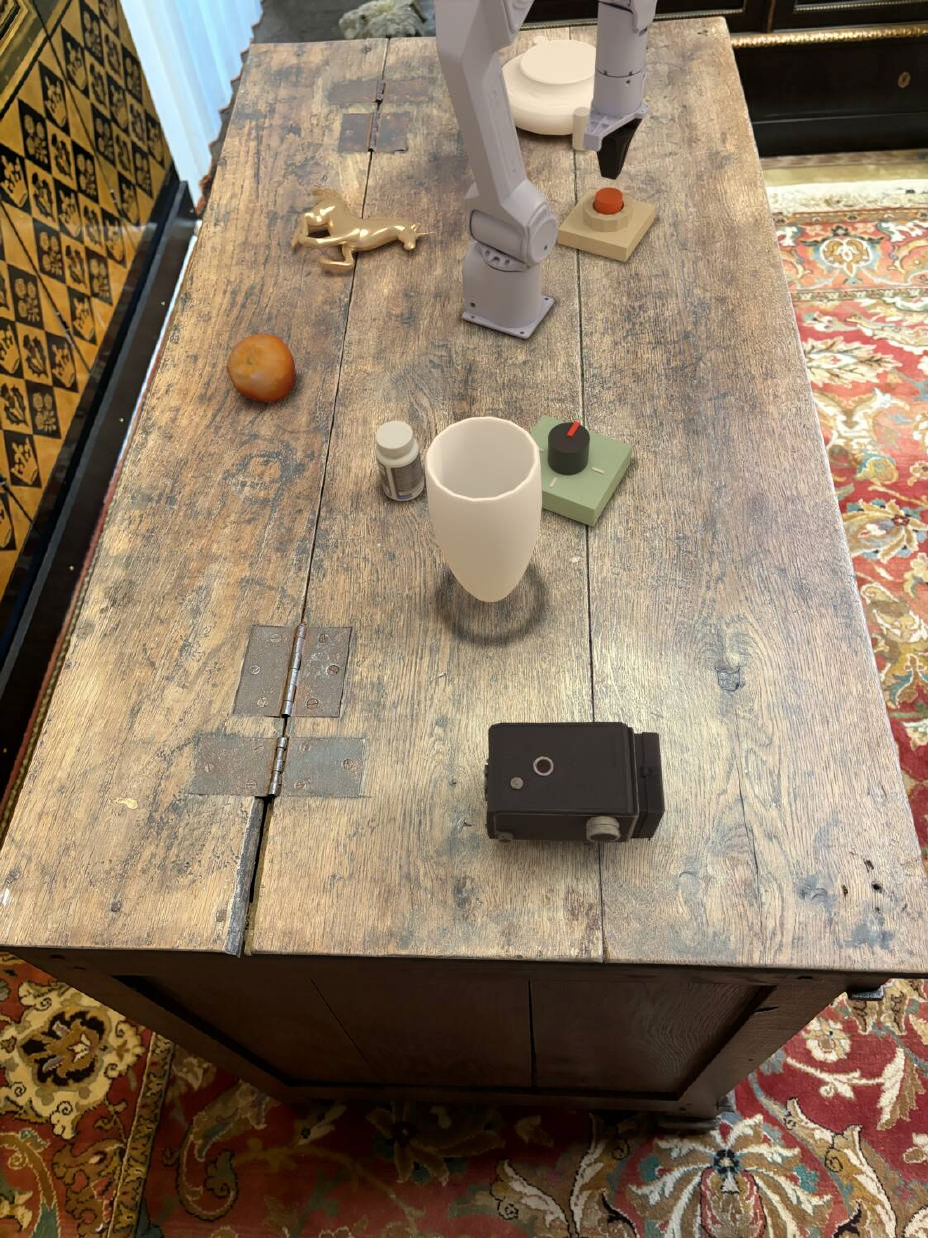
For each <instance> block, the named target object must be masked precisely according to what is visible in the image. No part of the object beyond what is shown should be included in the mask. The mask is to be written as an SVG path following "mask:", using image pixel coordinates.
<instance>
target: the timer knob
mask: <svg viewBox="0 0 928 1238" xmlns="http://www.w3.org/2000/svg"><path fill="white" fill-rule="evenodd" d="M565 422H566V421H565ZM587 430H588V429H587V428H586V427H585V426H583V425H582V424H581V422H580V421H576V420H575V421H574V422H571V421H567V422H566V423H561V424H558V425H556V426H555V427H553V428H552V429H551V431H550V432H549V435H548V464H549V466H550V467H551V469H552V470H554V471H555V472H557V473H559V474H563V475H573V474H577V473H579V472H581V471H582V470H584V468H585V467H586V466H587V464H588V456H589V444H590V435H589V432H588V431H587Z"/></svg>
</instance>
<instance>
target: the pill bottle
mask: <svg viewBox="0 0 928 1238" xmlns="http://www.w3.org/2000/svg"><path fill="white" fill-rule="evenodd" d="M374 438H375V443H376V446H375V449H374V454H375V459H376V463H377V467H378V472H379V475H380V482H381V486H382V490H383V491H384V494H385V495H386V496H387V497H388V498H390V499H392V500H394V501H397V502H408V501H410V500H413V499H415V498H417V497H419V495H420V494H421V493H422V492H423V490H424V487H425V477H424V471H423V465H422V460H421V452H420V446H419V443H418V441H417V440H416V438H415V435H414V432H413V429H412V427H411V426H410V424H408V423H407V422H405V421H402V420H390V421H387V422H385V423H383V424H381V425H380V426H379V427H378V428H377V430H376V432H375V436H374Z"/></svg>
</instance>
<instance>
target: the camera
mask: <svg viewBox="0 0 928 1238" xmlns="http://www.w3.org/2000/svg"><path fill="white" fill-rule="evenodd" d="M487 734H488V735H487V737H488V739H487V740H488V741H487V743H488V755H487V756H488V757H487V759H485V762H486V764H484V769H483V770H482V774H483V793H484V798H483V799H484V802H486V813H485V814H486V815H485V818H486V819H485V820H486V821H485V822H486V823H485V824H483V828H484V829H486V834H487V837H488V839H489V840H497V842H499V843H500V844H512V843H513V842H514V841H531V842H558V843H561V842H562V843H589V844H592V843H593V844H596V843H597V844H600V843H601V844H612V843H629V842H630V841H631V840H634V839H635V840H638V839H639V840H641V839H642V840H643V839H647V841H648V842H650V841H651V839H653V837H654V836H655V834H656V832H657V830H658V828H659V825H660V823H661V821H662V818H663V817H664V814H665V812H666V805H665V804H666V803H665V792H664V781H663V771H662V770H663V769H662V767H663V766H662V756H661V755H662V754H661V744H660V734H659V733H658V732H657V731H656V732H653V731H642V732H640V733H639V732H638V733H636V732H635V730H634V727H632V726H628V724H627V723H625V722H623V721H559V722H557V721H555V722H552V721H551V722H529V721H528V722H527V721H526V722H524V721H519V722H518V721H516V722H507V721H506V722H505V721H504V722H497V723H493V724H491V725H490V726H489V727H488V729H487Z"/></svg>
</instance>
